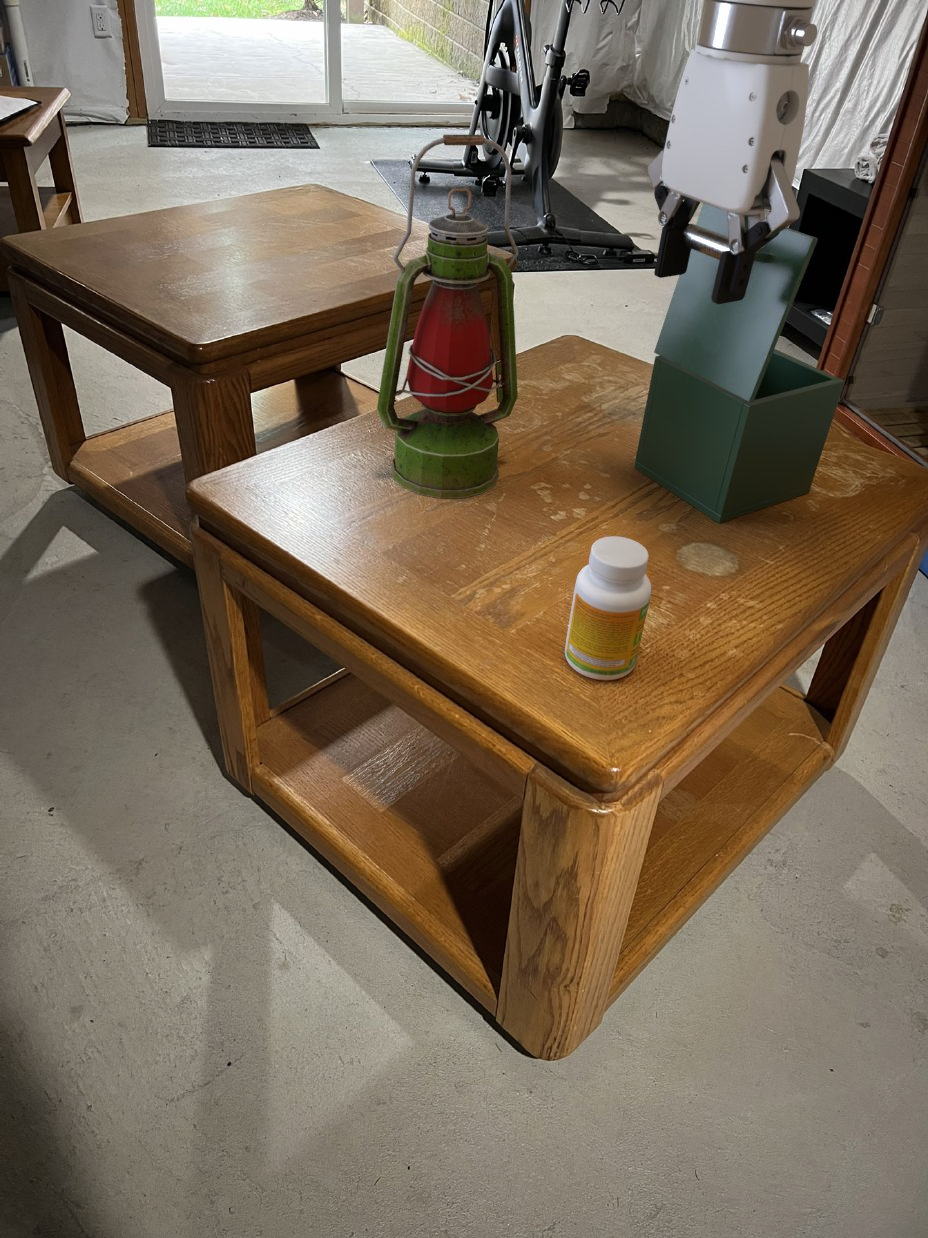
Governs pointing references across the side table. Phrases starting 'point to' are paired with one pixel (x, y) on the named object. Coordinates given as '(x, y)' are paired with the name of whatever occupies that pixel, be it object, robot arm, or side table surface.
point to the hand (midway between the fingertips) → (698, 285)
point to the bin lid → (731, 306)
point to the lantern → (451, 353)
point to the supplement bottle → (609, 609)
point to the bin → (736, 436)
